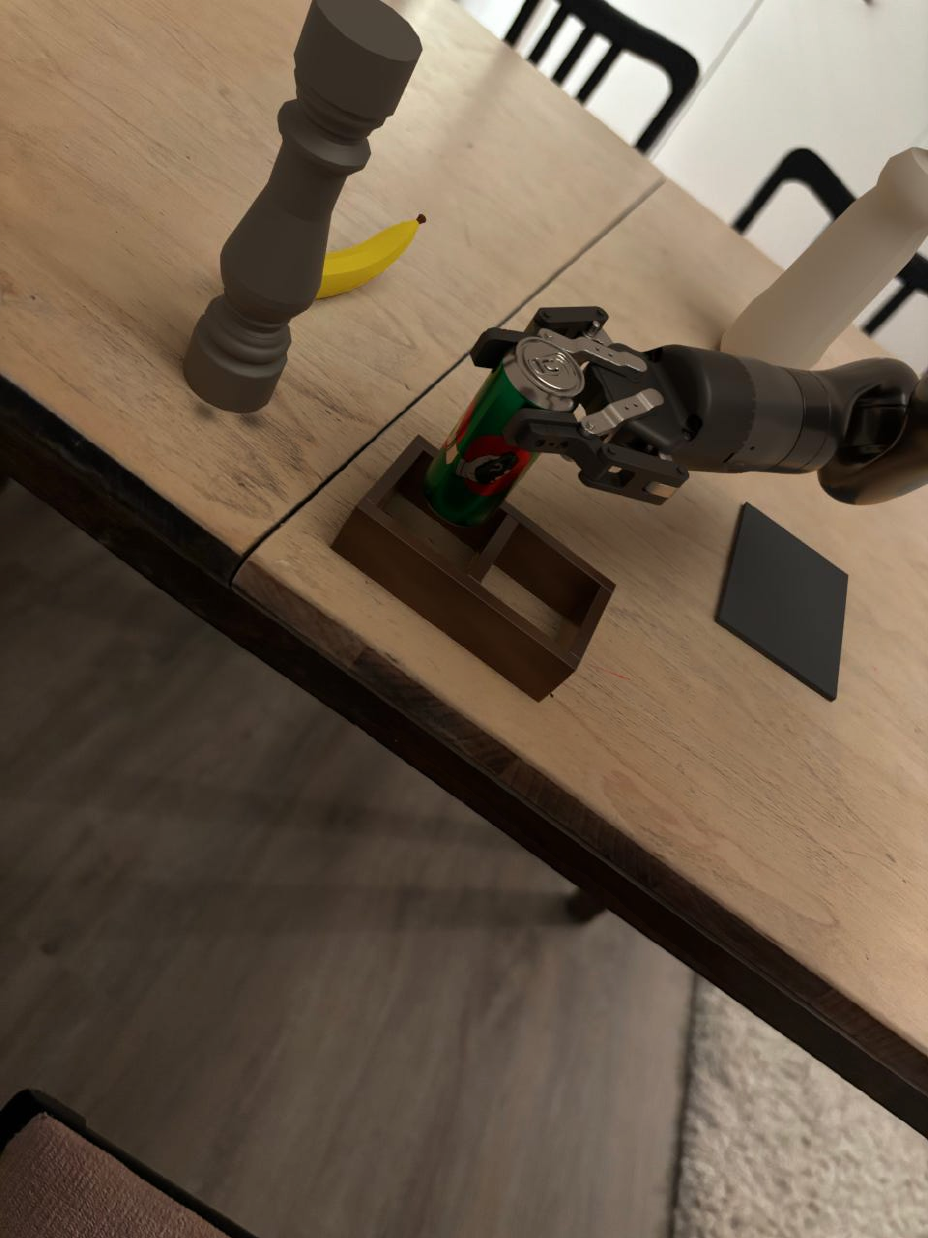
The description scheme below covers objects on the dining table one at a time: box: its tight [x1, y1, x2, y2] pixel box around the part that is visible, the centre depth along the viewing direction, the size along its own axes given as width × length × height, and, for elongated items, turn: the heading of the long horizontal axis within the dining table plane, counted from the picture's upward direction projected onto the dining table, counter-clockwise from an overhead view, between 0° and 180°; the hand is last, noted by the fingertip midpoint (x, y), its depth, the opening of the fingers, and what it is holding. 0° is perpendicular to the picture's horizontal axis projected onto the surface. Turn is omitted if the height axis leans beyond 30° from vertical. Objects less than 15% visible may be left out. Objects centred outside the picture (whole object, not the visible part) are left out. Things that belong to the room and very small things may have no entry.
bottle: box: [719, 146, 928, 371], centre depth 89 cm, size 9×9×30 cm
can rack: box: [329, 433, 617, 703], centre depth 63 cm, size 17×9×4 cm, turn 64°
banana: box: [315, 213, 427, 299], centre depth 71 cm, size 3×19×6 cm, turn 134°
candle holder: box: [182, 0, 424, 414], centre depth 55 cm, size 6×6×25 cm
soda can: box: [422, 337, 585, 528], centre depth 56 cm, size 5×5×12 cm
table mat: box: [715, 501, 850, 703], centre depth 81 cm, size 16×12×1 cm
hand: (495, 386), depth 51 cm, fingers closed on soda can, 5 cm apart
